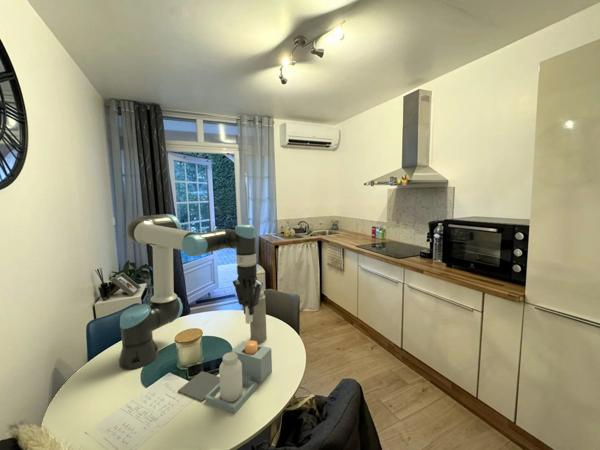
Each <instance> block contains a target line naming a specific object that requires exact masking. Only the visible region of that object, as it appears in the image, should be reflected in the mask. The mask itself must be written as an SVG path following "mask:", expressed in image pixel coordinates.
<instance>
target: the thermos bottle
mask: <svg viewBox="0 0 600 450" xmlns="http://www.w3.org/2000/svg"><path fill="white" fill-rule="evenodd" d="M255 285H256V284H255ZM255 285H254V291H255ZM266 308H267V307H266V295H265V292H264V291H263V289H262V287H261V290H260V295H259V301H258V305H256V306H255V307H254V314H253V321H252V322H251V323H249V327H250V329H249V330H250V341H256V342H257V344H259V343H263V342H265V341H267V336H268V335H267V333H268V332H267V314H266V312H267V310H266Z"/></svg>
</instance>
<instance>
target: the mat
mask: <svg viewBox="0 0 600 450" xmlns="http://www.w3.org/2000/svg"><path fill="white" fill-rule="evenodd" d="M219 383H220V376H217V375H215V374H212V373H209V372H207V371H203V370H201V371H200V372H199V373H198V374H197V375H195V376H194V377H193V378H191V379H190V380H189V381H187V383H185V384H184V385H182V386H181V387H180V388H179V389H178V390H177V393H179V394H181V395H184V396H187V397H189V398H191V399H194V400H197V401H199V402H203V401H205V396H206V395H207V394H208V393H209V392H210V391H211V390H212V389H213V388H215V387H216V386H217V385H218V384H219Z"/></svg>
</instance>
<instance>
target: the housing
mask: <svg viewBox="0 0 600 450" xmlns="http://www.w3.org/2000/svg"><path fill="white" fill-rule="evenodd" d="M246 342H247V341H241V342H240V343H239V344H238V345H236V347H234V348H233V349H232V350H231V351H230V352H235V353H237V355H238V360H240V361H241V364H242V385H243V386H244V387H246V388H247V387H248V389H247V390H246V391H245V392H243V393H242V395H241V397H240V398H239V399H237V400H236V402H235V403H234V404H233V403H231V402H225V401H223V400H222V399H221V398H217V397H215V396H216V395H217V394H218V393H220V383H219V384H218V385H217V386H216V387H215V388H213V389H212V390H211V391H210V392H209V393H208V394H207V395H206V396H205V400H204V401H205V402H206V403H208V404H210V405H212V406H215V407H218V408H220V409H221V410H222V409H223V410H225V411H228V412H230V413H233V414H236V413H237V412H238V410H239V409H240V408H241V407H242V406H243V404H245V402H246V401H247V400H248V399H249V397H250V396H251V395H252V394H253V393H254V392H255V390H256V389H257V387H258V386H257V385H258V384H263V382H264V381H265V380H267V378H268V377H269V375H270V374H271V373H272V372H273V361H272V358H273V357H272V348H271V347H268V346H264V345H259V344H257V346H258V351H257V352H256V353H255V354H254V355H250V354H246V353H245V343H246Z"/></svg>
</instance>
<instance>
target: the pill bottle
mask: <svg viewBox="0 0 600 450" xmlns="http://www.w3.org/2000/svg"><path fill="white" fill-rule="evenodd" d="M218 371H219V373H218V374H219V377H220V391H219V394H220V400H223V401H225V402H228V403H231V402H235V401H238V400H239V399H240V398H241V397H242V395H243V393H244V392H243V391H244V388H243V386H244V385H242V364H241V361H240V360H238V355H237V353H235V352H231V351H229V352H226V353H224V354H223V356H222V362H221V363H220V365H219V370H218Z"/></svg>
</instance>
